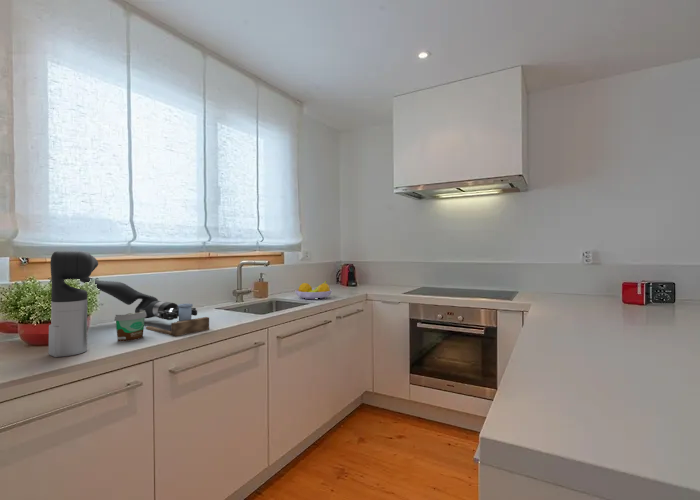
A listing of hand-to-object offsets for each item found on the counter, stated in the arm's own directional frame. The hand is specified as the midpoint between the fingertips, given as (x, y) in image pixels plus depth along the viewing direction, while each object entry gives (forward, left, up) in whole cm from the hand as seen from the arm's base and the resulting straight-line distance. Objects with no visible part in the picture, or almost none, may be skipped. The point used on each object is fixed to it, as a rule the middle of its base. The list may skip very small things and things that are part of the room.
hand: (186, 314), depth 145 cm
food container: (-18, +5, -7) cm, 20 cm away
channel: (0, +7, -7) cm, 10 cm away
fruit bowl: (+109, +21, -7) cm, 111 cm away
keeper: (0, +1, -7) cm, 7 cm away
